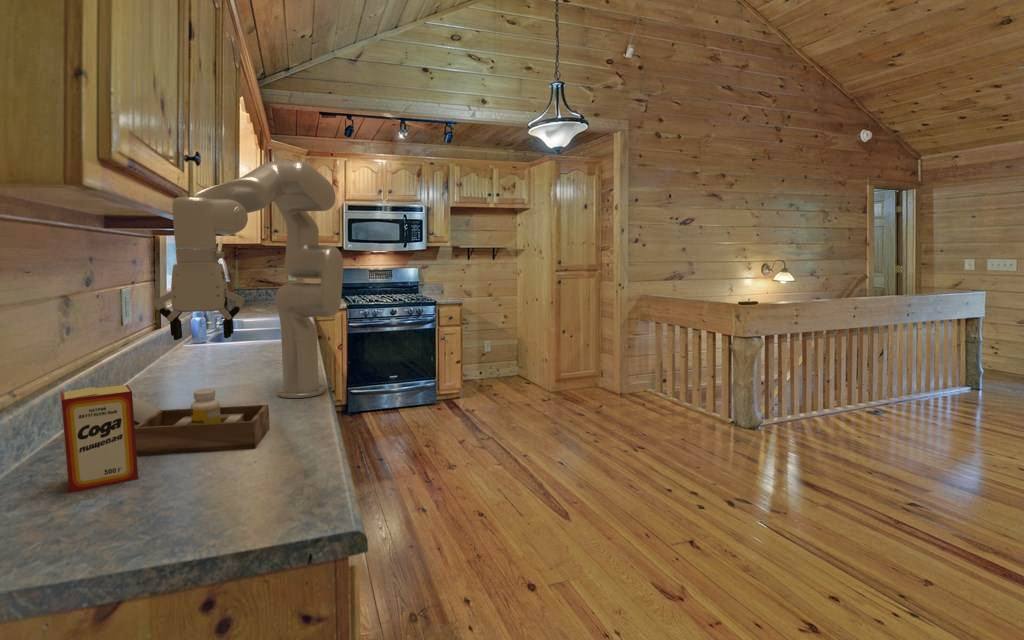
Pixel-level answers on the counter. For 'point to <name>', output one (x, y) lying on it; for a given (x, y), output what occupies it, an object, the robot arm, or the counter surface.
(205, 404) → the supplement bottle
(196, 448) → the crate
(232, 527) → the counter surface
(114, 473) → the baking soda box
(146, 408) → the tube
